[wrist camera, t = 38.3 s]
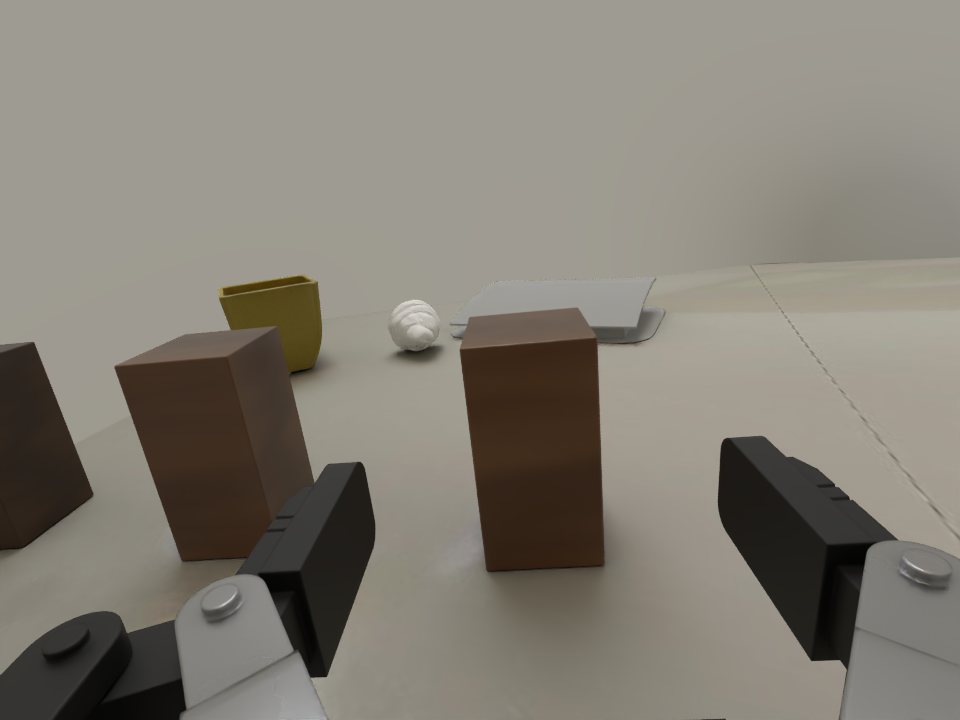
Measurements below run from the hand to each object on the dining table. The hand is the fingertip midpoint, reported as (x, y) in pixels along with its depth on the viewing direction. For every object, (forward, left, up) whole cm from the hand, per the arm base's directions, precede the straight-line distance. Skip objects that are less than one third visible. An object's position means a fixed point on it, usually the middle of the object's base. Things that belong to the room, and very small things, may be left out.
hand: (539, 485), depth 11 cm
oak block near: (+10, +31, -9) cm, 34 cm away
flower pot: (+36, +29, -9) cm, 47 cm away
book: (+49, +1, -9) cm, 50 cm away
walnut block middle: (+10, +16, -9) cm, 21 cm away
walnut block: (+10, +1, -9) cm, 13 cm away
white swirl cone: (+39, +15, -9) cm, 43 cm away
